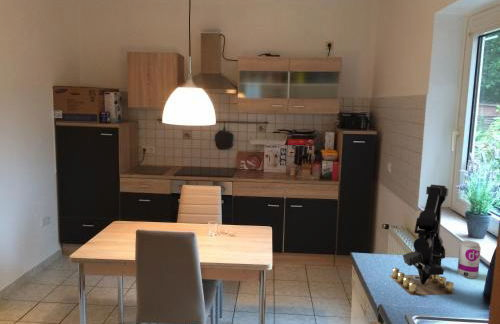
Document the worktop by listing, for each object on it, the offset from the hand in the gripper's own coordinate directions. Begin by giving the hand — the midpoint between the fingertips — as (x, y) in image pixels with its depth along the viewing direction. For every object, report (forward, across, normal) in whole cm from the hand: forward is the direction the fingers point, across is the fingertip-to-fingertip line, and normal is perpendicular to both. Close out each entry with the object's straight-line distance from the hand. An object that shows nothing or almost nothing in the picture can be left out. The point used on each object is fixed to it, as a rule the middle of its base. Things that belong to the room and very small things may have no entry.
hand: (422, 283), depth 168 cm
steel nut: (+1, -4, 0) cm, 4 cm away
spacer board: (+2, -2, 0) cm, 3 cm away
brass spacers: (+1, -2, 0) cm, 2 cm away
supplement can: (+2, -13, +28) cm, 31 cm away
